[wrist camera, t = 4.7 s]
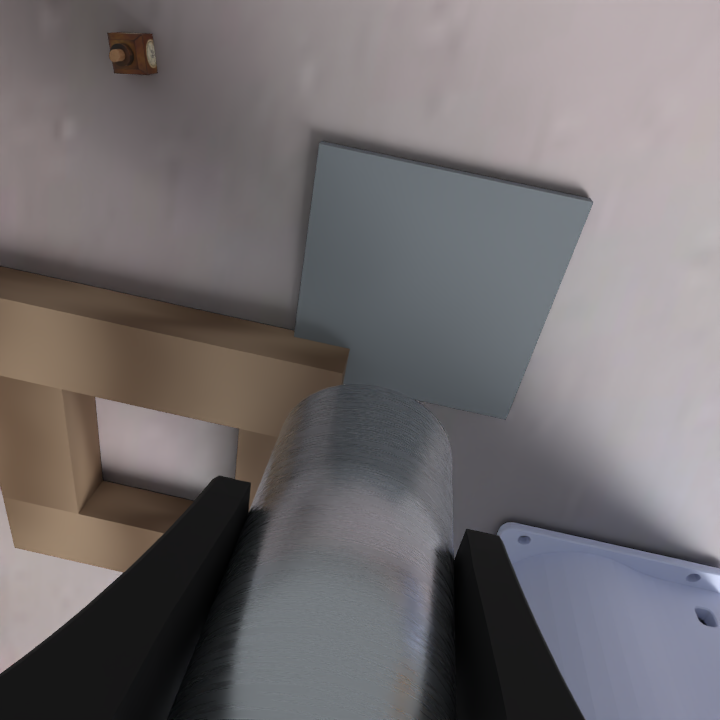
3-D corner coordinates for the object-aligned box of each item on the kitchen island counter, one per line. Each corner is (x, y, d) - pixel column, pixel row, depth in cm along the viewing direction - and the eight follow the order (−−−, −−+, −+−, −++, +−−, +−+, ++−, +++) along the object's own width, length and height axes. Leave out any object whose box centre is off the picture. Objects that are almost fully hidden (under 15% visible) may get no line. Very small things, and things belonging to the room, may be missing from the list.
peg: (479, 416, 12) (525, 934, 5) (418, 535, 14) (395, 1014, 7) (299, 361, 12) (106, 821, 5) (265, 490, 14) (97, 936, 7)
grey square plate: (590, 198, 16) (593, 202, 16) (504, 413, 21) (505, 419, 20) (321, 141, 16) (319, 143, 16) (291, 366, 21) (289, 372, 20)
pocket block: (351, 343, 20) (342, 373, 18) (306, 574, 27) (296, 611, 25) (-5, 265, 20) (-46, 288, 18) (41, 514, 27) (14, 547, 25)
